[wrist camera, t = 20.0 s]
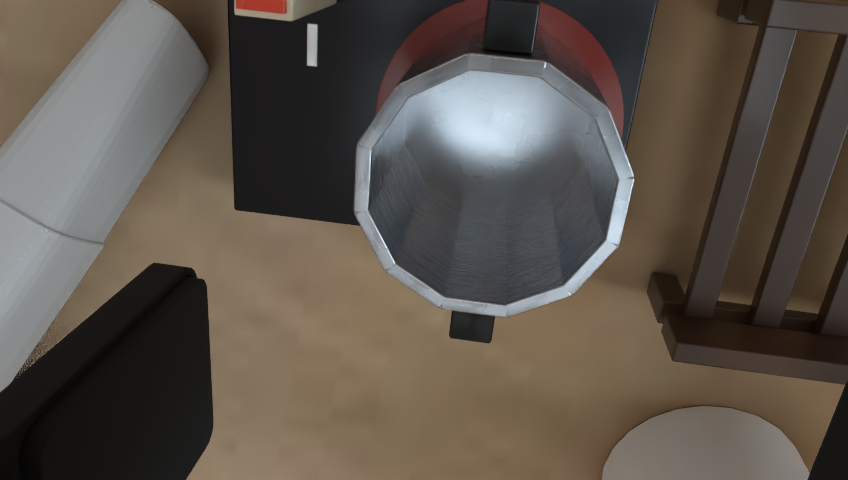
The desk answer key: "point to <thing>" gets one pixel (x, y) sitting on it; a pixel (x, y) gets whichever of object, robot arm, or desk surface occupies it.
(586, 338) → the desk surface
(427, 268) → the steel pot
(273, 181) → the hob
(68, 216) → the handheld device
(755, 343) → the drying rack
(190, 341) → the robot arm
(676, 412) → the base with upright slab
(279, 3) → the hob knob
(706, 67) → the desk surface
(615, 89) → the hot plate
